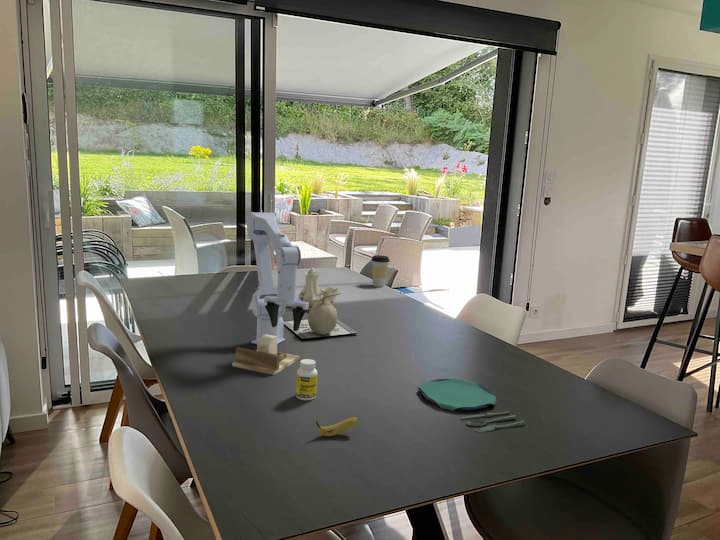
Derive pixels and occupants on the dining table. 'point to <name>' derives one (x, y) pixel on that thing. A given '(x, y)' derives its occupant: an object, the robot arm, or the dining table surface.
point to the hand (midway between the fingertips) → (285, 328)
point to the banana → (337, 427)
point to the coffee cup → (379, 269)
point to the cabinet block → (267, 344)
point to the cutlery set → (464, 400)
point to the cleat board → (263, 361)
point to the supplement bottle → (306, 380)
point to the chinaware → (315, 290)
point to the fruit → (322, 317)
